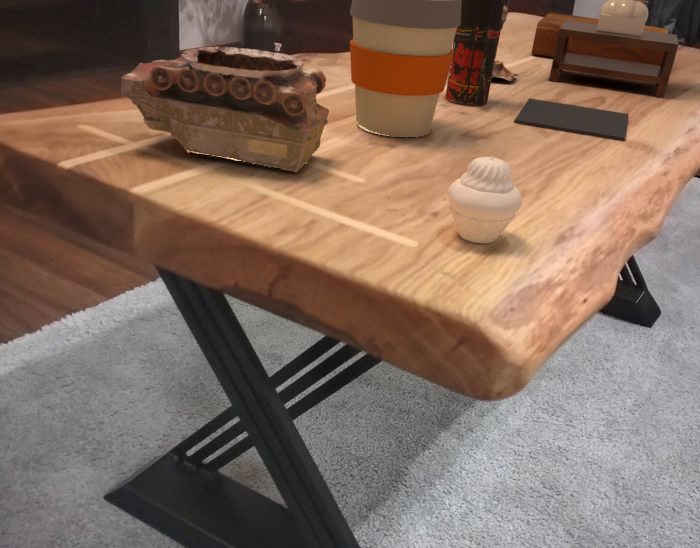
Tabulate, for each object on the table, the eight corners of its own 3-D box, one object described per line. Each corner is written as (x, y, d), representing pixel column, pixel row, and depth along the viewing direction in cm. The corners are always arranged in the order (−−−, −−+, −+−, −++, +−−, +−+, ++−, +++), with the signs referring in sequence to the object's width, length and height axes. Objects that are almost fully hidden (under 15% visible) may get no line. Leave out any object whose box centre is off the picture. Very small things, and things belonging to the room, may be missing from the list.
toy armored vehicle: (282, 196, 71) (286, 86, 66) (96, 156, 76) (87, 52, 71) (334, 158, 81) (342, 62, 76) (168, 125, 87) (165, 33, 82)
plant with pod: (460, 67, 130) (480, -68, 119) (524, 79, 125) (551, -60, 115) (440, 74, 123) (459, -68, 113) (507, 87, 119) (533, -60, 109)
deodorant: (438, 95, 111) (454, -21, 103) (475, 95, 112) (494, -18, 105) (456, 105, 106) (474, -15, 98) (494, 106, 108) (515, -12, 100)
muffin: (432, 239, 65) (444, 157, 61) (453, 217, 70) (466, 140, 66) (504, 257, 63) (521, 173, 59) (521, 232, 68) (537, 154, 64)
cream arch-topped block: (643, 33, 125) (651, 0, 123) (643, 36, 122) (651, 3, 119) (596, 26, 127) (604, -6, 124) (595, 30, 123) (602, -3, 121)
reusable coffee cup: (465, 133, 94) (486, -1, 87) (397, 148, 86) (414, 2, 79) (389, 108, 101) (402, -17, 94) (319, 121, 93) (328, -15, 86)
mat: (627, 116, 109) (628, 113, 109) (624, 141, 97) (625, 137, 97) (528, 100, 112) (529, 98, 112) (514, 122, 101) (514, 119, 100)
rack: (662, 85, 131) (677, 34, 127) (663, 98, 122) (678, 44, 118) (555, 69, 135) (566, 20, 131) (548, 80, 126) (559, 28, 122)
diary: (530, 55, 144) (537, 22, 141) (544, 42, 160) (550, 11, 157) (658, 74, 139) (668, 40, 136) (659, 58, 154) (668, 27, 151)
